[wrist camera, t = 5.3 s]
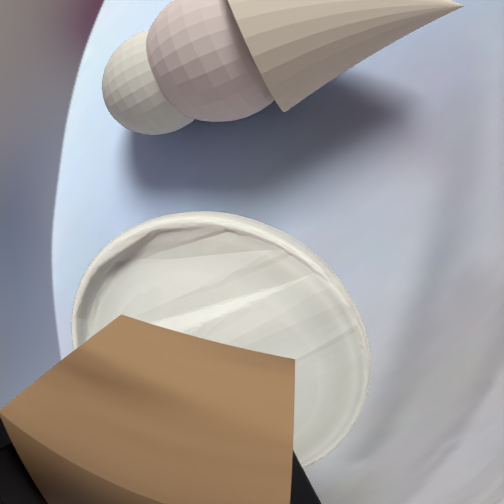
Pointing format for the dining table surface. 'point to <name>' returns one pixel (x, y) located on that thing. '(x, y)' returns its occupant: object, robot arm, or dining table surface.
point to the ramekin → (240, 308)
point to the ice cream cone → (247, 56)
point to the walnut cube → (158, 421)
